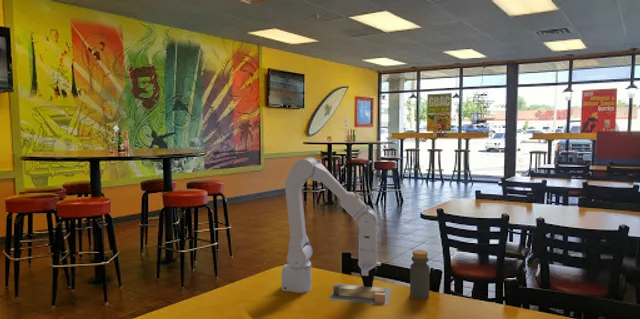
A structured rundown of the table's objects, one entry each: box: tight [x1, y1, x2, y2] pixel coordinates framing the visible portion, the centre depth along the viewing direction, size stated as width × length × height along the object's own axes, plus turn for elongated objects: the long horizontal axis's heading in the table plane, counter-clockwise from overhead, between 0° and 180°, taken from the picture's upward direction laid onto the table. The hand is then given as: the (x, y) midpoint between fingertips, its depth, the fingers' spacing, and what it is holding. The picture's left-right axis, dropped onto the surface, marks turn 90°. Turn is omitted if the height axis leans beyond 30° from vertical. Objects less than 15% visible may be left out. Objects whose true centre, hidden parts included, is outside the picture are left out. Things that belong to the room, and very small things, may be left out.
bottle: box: [409, 249, 431, 300], centre depth 136 cm, size 6×6×15 cm
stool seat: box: [328, 283, 392, 306], centre depth 138 cm, size 18×14×1 cm
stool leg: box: [332, 283, 385, 299], centre depth 136 cm, size 16×3×2 cm, turn 76°
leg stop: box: [375, 292, 385, 303], centre depth 132 cm, size 3×2×2 cm, turn 76°
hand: (368, 290), depth 138 cm, fingers closed
